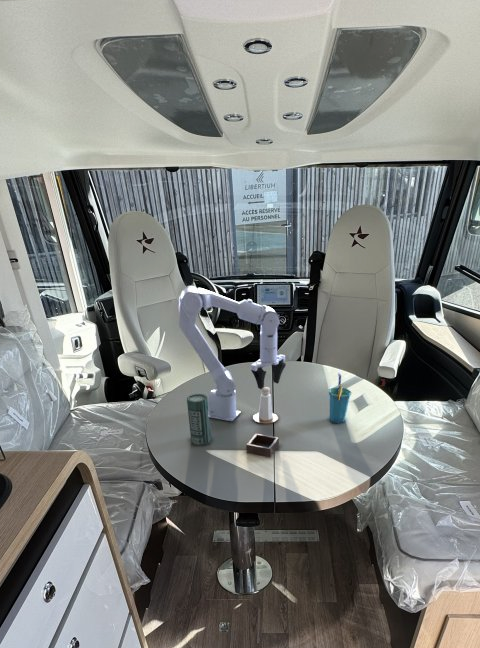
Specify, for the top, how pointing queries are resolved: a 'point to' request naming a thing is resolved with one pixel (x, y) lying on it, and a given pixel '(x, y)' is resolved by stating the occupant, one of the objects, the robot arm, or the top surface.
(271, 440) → the box
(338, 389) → the cup
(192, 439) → the can
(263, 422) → the coaster
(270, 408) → the salt shaker
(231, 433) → the top surface
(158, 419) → the top surface
